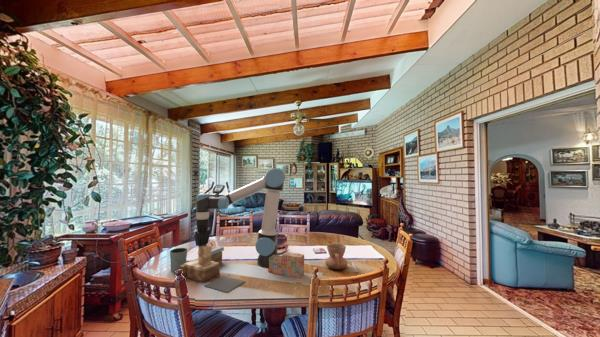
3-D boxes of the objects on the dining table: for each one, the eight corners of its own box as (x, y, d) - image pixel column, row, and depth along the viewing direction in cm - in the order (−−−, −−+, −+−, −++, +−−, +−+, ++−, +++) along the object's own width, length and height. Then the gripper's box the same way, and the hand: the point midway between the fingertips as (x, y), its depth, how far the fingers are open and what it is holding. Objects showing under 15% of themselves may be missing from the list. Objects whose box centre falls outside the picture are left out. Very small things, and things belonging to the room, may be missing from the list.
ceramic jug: (325, 262, 168) (325, 241, 169) (346, 263, 166) (346, 242, 167) (324, 272, 150) (324, 249, 151) (348, 274, 148) (348, 250, 149)
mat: (245, 282, 136) (245, 281, 136) (227, 293, 123) (227, 291, 123) (223, 276, 143) (223, 275, 143) (204, 286, 131) (204, 285, 131)
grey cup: (182, 264, 162) (183, 246, 162) (190, 268, 155) (190, 249, 156) (166, 269, 154) (167, 250, 154) (173, 273, 147) (174, 253, 148)
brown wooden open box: (237, 266, 160) (237, 254, 160) (199, 284, 132) (199, 271, 133) (217, 261, 168) (217, 250, 168) (177, 278, 140) (177, 265, 140)
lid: (218, 266, 146) (218, 245, 146) (203, 273, 136) (204, 250, 136) (198, 262, 153) (198, 242, 154) (183, 267, 143) (183, 246, 144)
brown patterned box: (268, 272, 150) (268, 252, 151) (273, 269, 156) (273, 249, 156) (300, 278, 142) (300, 257, 142) (304, 274, 148) (304, 254, 148)
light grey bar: (223, 250, 168) (223, 247, 168) (204, 257, 153) (204, 254, 153) (220, 250, 169) (221, 246, 169) (201, 257, 154) (201, 253, 154)
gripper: (206, 216, 161) (205, 252, 160) (189, 219, 149) (188, 258, 148) (214, 217, 157) (214, 254, 157) (198, 220, 146) (197, 260, 145)
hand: (201, 256), depth 153 cm, fingers closed
